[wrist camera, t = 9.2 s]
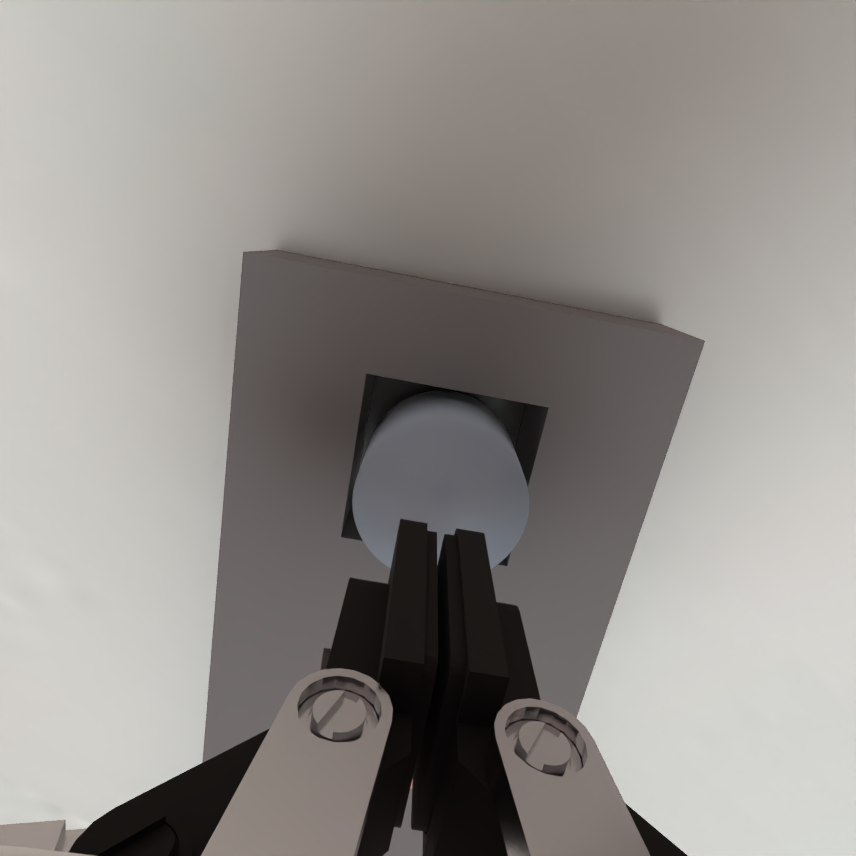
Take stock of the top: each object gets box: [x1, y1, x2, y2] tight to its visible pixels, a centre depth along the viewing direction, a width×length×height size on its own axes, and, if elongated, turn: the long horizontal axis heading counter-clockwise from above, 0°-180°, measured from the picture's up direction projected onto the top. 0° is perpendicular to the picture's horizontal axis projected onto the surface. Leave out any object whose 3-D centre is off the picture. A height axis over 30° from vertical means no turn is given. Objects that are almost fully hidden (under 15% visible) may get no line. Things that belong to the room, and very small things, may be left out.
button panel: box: [203, 250, 705, 856], centre depth 20 cm, size 12×28×3 cm, turn 169°
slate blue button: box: [352, 391, 529, 569], centre depth 16 cm, size 4×4×3 cm
